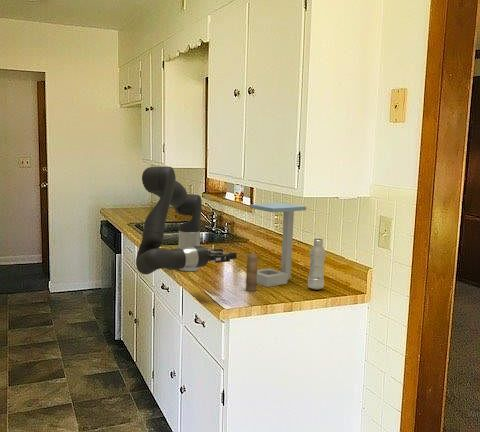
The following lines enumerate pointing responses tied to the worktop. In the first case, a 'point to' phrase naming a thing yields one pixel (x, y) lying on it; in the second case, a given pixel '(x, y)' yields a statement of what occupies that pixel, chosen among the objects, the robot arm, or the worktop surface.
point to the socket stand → (280, 277)
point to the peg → (251, 272)
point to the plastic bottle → (316, 265)
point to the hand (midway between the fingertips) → (229, 253)
